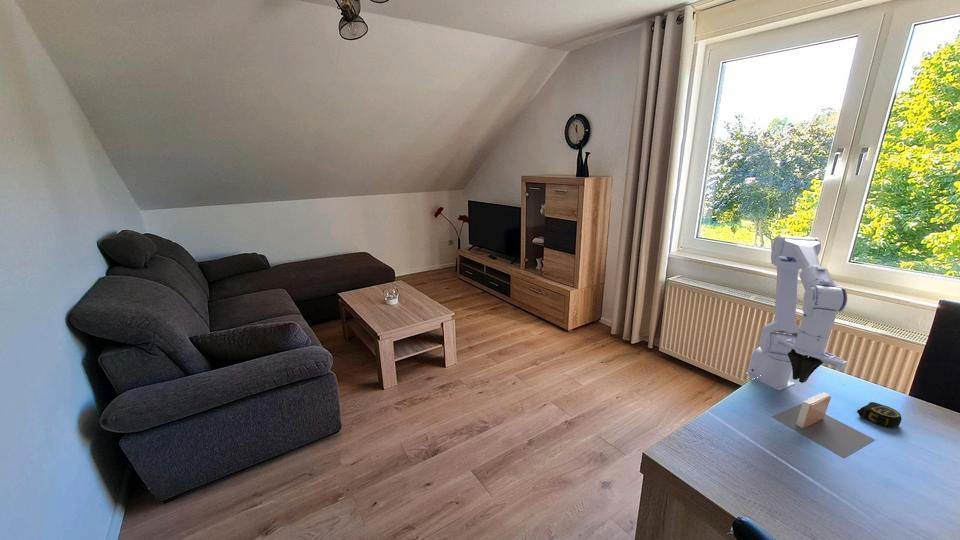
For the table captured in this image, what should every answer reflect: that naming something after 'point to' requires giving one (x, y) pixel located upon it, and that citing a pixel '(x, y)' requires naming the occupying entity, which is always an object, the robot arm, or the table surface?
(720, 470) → the table surface
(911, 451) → the table surface
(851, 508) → the table surface
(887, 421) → the tape measure
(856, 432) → the mat
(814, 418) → the cream rectangular panel
